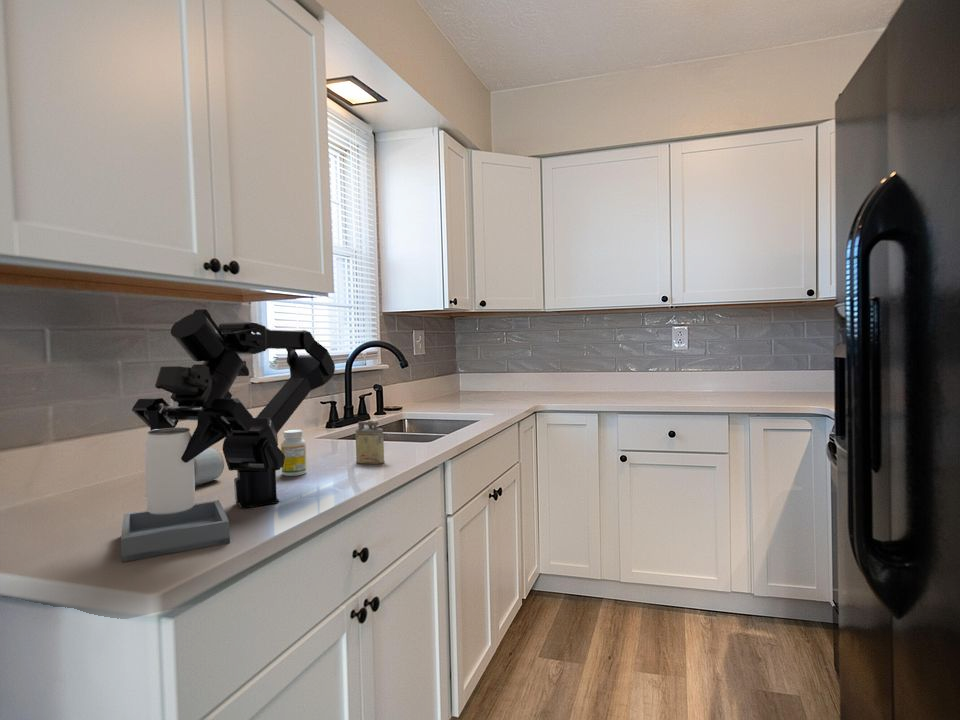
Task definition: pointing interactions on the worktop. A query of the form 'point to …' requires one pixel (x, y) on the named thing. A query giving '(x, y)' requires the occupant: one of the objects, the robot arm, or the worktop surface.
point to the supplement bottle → (294, 453)
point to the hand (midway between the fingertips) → (165, 460)
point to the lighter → (369, 443)
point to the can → (168, 472)
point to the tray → (173, 531)
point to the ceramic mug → (208, 466)
